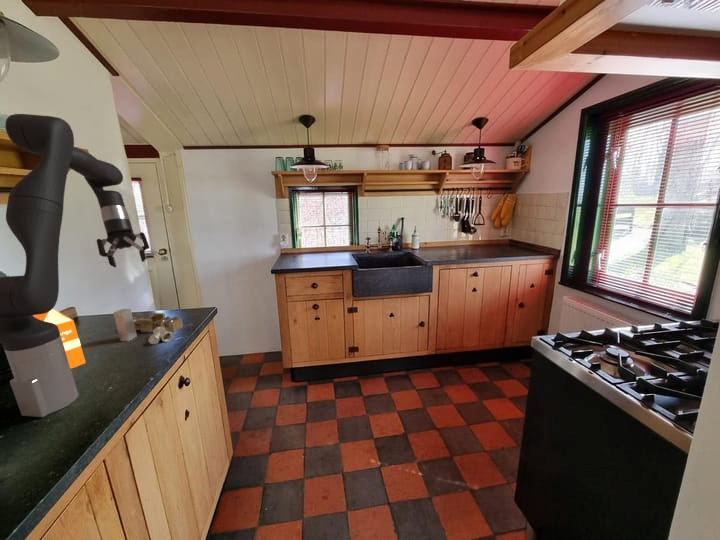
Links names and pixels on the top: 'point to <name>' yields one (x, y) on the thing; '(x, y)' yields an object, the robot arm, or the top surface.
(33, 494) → the top surface
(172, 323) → the gold block with rollers
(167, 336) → the pipe fitting
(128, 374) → the top surface
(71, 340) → the orange juice
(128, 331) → the square grey block
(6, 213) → the robot arm
